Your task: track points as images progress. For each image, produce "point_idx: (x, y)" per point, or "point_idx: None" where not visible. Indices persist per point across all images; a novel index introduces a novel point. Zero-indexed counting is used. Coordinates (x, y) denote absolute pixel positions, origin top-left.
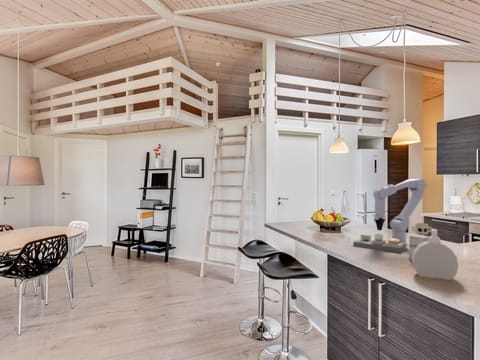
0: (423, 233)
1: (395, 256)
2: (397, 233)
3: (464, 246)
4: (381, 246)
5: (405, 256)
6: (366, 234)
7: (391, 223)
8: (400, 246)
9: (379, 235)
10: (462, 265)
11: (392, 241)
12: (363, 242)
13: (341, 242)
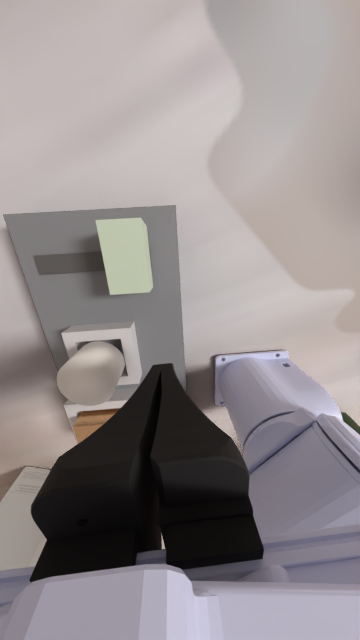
0: None
1: (21, 433)
2: (237, 436)
3: None
4: None
5: (56, 449)
6: (140, 258)
7: (336, 468)
8: None
9: (66, 395)
10: None
11: (80, 439)
12: (45, 283)
13: (34, 85)
